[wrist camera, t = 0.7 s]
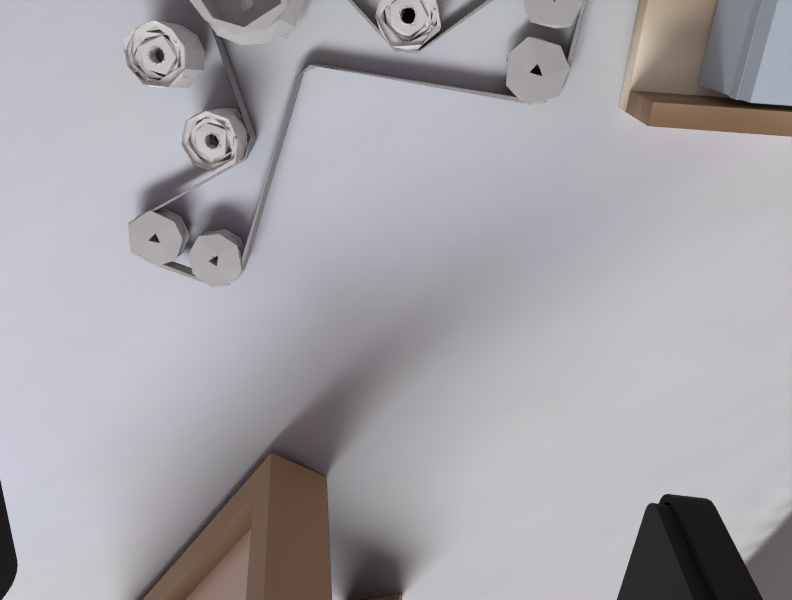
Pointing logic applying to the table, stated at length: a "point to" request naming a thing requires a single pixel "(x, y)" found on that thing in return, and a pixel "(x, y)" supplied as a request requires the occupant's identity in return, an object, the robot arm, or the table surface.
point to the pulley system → (233, 133)
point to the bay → (686, 75)
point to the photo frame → (261, 543)
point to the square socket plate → (751, 51)
